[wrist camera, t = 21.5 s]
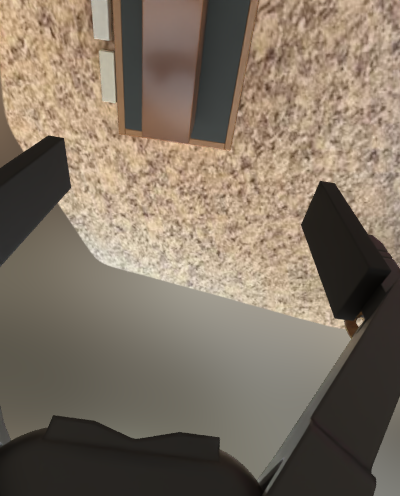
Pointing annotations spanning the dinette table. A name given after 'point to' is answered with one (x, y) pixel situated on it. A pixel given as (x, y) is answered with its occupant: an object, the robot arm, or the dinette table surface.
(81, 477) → the robot arm
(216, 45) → the chalkboard
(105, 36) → the white rectangular bar
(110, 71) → the white chalk stick
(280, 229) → the dinette table surface
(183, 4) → the eraser
